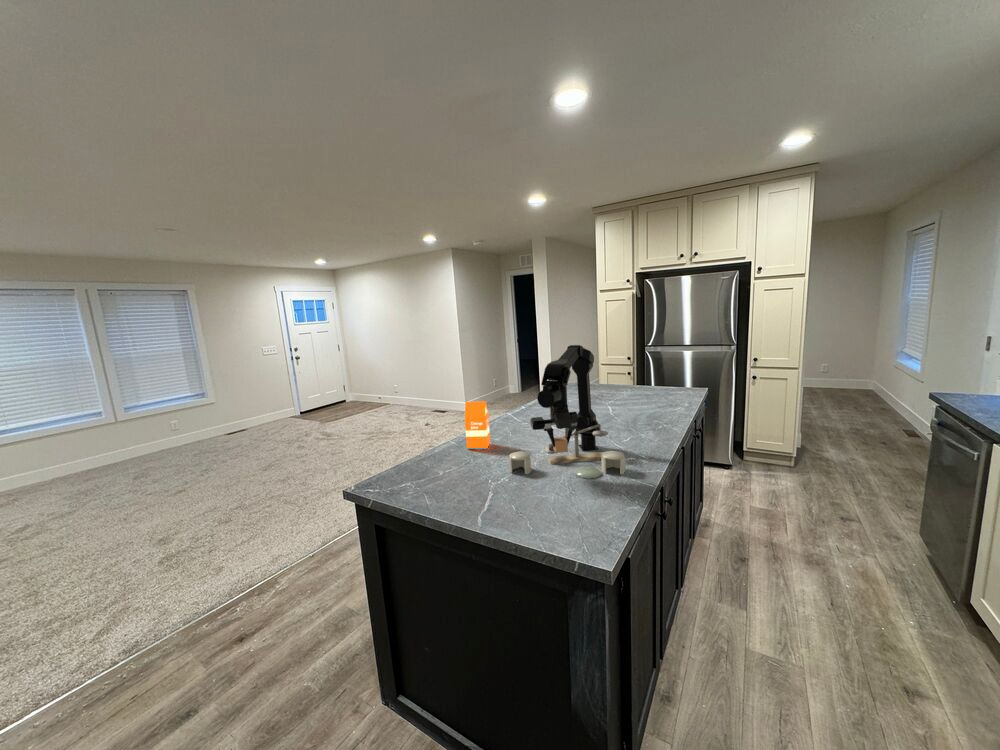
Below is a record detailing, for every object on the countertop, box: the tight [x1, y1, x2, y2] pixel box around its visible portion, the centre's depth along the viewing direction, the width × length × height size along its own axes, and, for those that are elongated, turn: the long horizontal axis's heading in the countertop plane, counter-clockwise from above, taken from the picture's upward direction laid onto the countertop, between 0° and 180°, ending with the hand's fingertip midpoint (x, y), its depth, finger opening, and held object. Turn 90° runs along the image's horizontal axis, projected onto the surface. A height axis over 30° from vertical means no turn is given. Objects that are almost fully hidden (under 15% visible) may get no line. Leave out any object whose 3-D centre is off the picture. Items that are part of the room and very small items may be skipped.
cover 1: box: [508, 451, 532, 475], centre depth 142 cm, size 7×7×6 cm
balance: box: [544, 423, 609, 465], centre depth 149 cm, size 24×6×13 cm, turn 94°
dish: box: [574, 466, 602, 480], centre depth 137 cm, size 9×9×1 cm
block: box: [553, 436, 569, 454], centre depth 134 cm, size 4×4×4 cm
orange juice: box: [464, 401, 491, 449], centre depth 170 cm, size 8×9×20 cm
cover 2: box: [601, 450, 626, 475], centre depth 137 cm, size 7×7×6 cm
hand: (560, 446), depth 134 cm, fingers closed on block, 4 cm apart
